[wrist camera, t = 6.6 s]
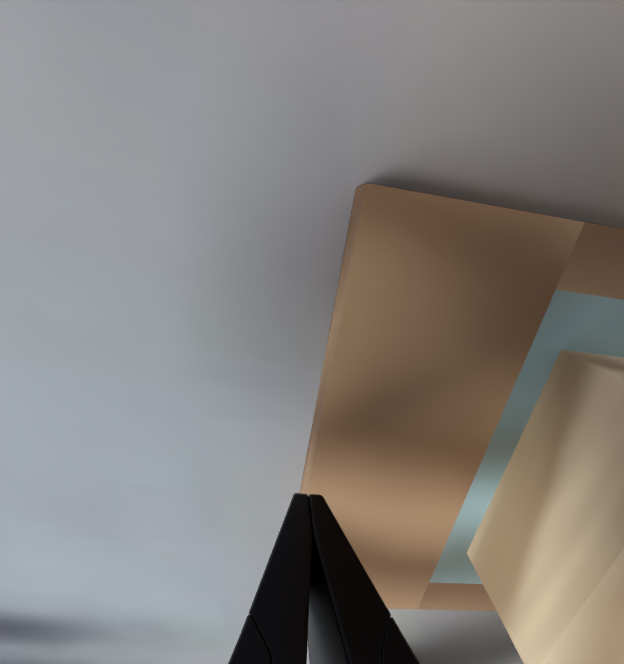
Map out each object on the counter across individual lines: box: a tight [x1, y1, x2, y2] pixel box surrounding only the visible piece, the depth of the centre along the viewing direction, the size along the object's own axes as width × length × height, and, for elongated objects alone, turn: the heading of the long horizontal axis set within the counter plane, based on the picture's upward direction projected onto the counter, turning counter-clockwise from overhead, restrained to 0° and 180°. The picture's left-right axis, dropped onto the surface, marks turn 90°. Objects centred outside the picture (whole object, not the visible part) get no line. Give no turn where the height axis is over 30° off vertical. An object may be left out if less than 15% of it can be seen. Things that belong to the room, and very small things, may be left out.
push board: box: [300, 183, 624, 611], centre depth 13 cm, size 18×18×2 cm
